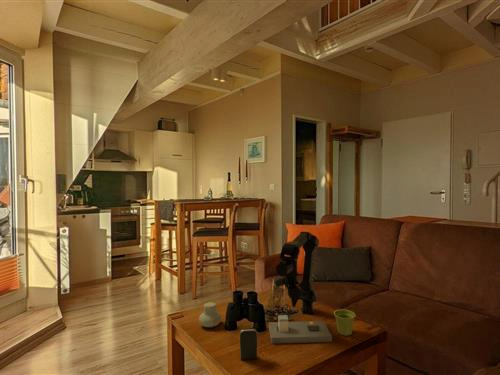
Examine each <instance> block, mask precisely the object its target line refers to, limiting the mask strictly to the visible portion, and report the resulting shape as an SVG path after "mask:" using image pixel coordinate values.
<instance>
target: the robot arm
mask: <svg viewBox="0 0 500 375" xmlns="http://www.w3.org/2000/svg"><path fill="white" fill-rule="evenodd" d="M319 245H320V240H319V239H318V237H317V236H316V235H313V234H312V233H311V232H310V231H303V230H302V231H300V232H299V234H298V235H297V236H296V237H295V238H294V239H293V240H290V241H287V242H285V243H284V244H283V245H282V247H281V251H280V255H279V264H277V265H276V268H275V272H276V273H277V275H278V276H275V277H273V279H272V280H273V283H274V285H275V288H279V287H282V286H283V285H284V286H285V287H286V293H287V296H288V298H289V299H290V300H291V306H292V307H293V308H295V307H296V305H297V303H298V301H299V300H301V307H300V311H301V313H302V314H303V315H305V314H306V315H309V314H311V315H312V314H313V315H314V314H316V312H315V310H314V303H316V302H317V299H318V298H317V293H316V292H315V286H314V284H313V282H312V280H313V278H312V277H313V271H314V270H313V269H314V268H313V267H314V257H315V253H316V252H317V251H318V248H319ZM301 248H302V249H303V251H304V260H303V270H302V280H301V282H300V283H299V281H298V279H299V278H298V277H299V272H298V259H299V255H300V253H301V250H300V249H301Z"/></svg>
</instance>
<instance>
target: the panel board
mask: <svg viewBox="0 0 500 375" xmlns="http://www.w3.org/2000/svg"><path fill="white" fill-rule="evenodd" d="M268 330H269V336H270V342H271V344H296V343H297V344H299V343H300V344H301V343H304V344H305V343H307V344H308V343H332V342H333V335H332V334H331V332H330V330H329V328H328V327H327V325H326V323H325V322H324V320H313V321H311V320H309V321H308V320H307V321H302V320H301V321H288V332H279V331H278V321H275V322H274V321H272V322H271V321H270V322H268Z"/></svg>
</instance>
